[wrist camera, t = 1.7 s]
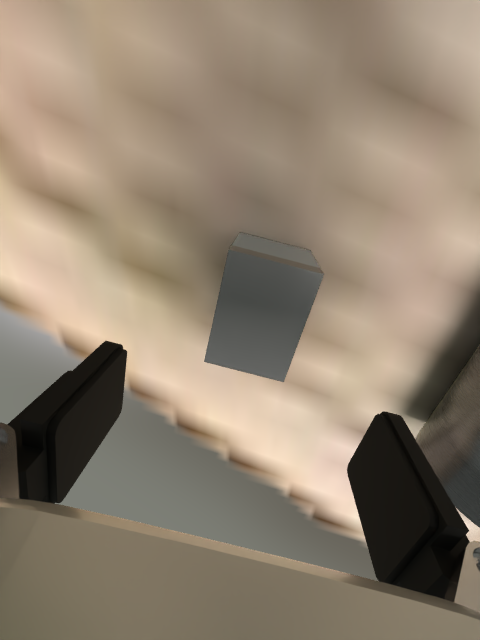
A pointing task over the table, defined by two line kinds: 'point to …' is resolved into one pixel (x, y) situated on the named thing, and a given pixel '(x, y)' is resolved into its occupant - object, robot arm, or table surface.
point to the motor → (457, 440)
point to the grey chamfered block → (262, 306)
